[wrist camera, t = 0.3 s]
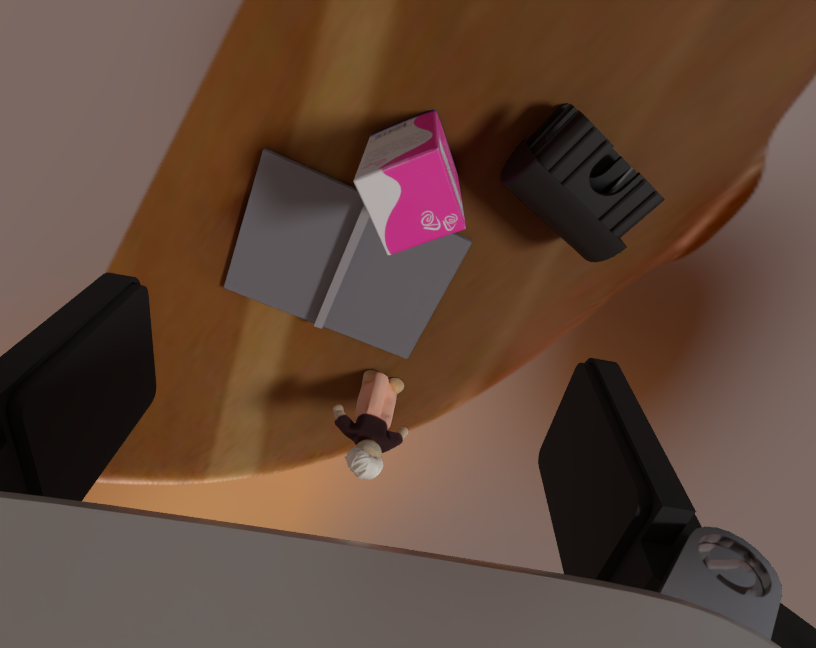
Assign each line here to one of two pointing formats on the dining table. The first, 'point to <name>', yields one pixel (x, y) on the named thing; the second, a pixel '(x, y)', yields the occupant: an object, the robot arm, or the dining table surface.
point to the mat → (335, 259)
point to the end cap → (579, 184)
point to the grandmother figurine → (371, 424)
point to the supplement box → (410, 184)
